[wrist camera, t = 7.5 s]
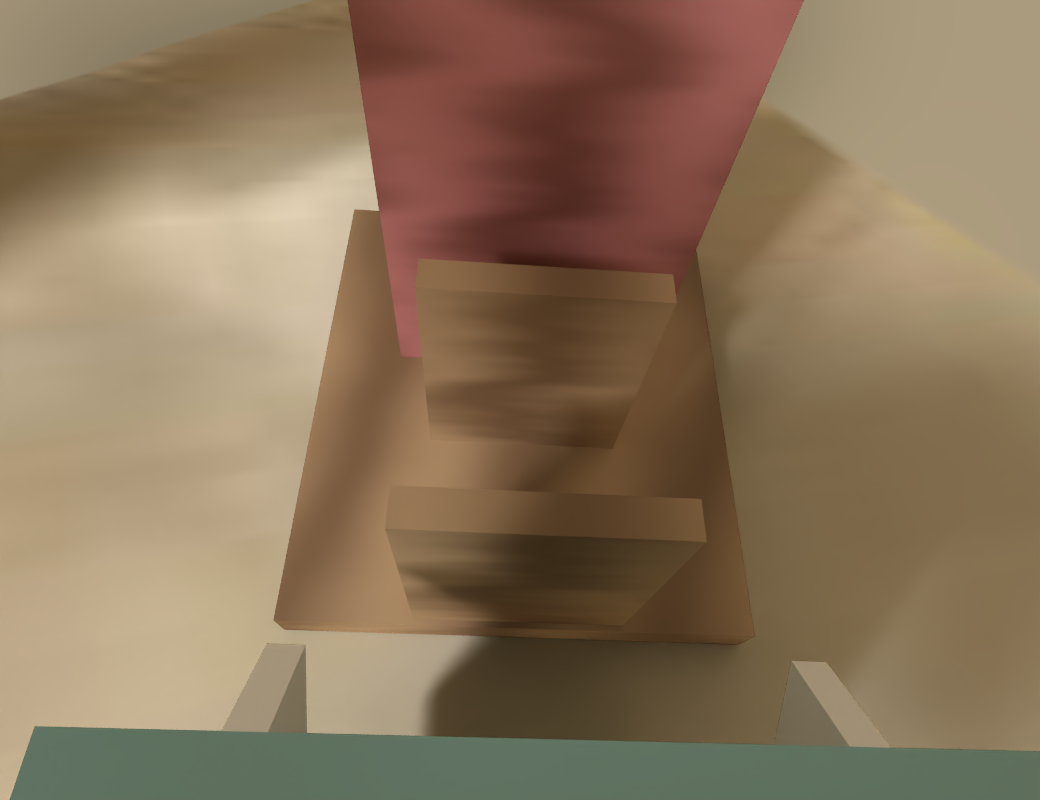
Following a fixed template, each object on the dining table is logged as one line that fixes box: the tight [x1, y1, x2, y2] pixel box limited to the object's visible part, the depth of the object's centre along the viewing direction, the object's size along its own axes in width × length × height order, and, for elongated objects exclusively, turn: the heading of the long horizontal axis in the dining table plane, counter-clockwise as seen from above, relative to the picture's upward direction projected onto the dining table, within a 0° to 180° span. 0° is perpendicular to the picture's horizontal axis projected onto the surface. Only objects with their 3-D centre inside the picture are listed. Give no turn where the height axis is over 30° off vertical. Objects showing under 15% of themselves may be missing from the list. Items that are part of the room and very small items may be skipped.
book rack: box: [274, 0, 804, 644], centre depth 20 cm, size 16×18×18 cm
